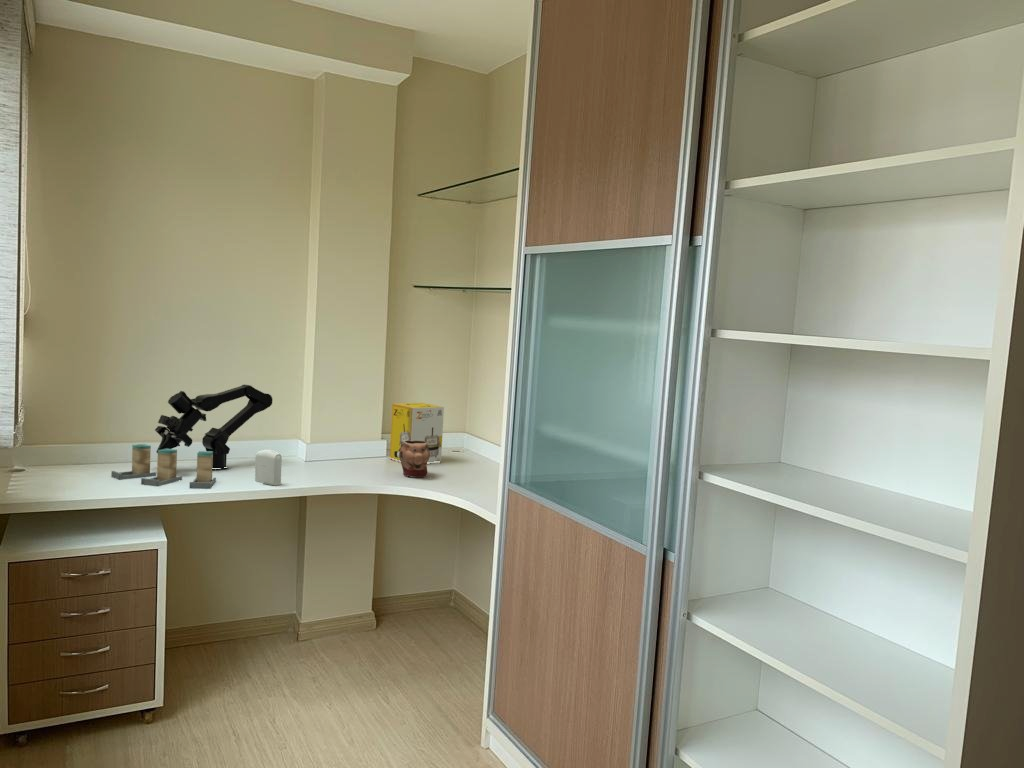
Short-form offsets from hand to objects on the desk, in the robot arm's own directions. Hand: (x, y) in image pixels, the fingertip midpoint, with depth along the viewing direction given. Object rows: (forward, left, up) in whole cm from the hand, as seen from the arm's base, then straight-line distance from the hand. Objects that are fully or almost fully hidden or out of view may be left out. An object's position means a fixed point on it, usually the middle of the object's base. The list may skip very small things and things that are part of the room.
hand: (157, 453), depth 301 cm
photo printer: (-21, +37, -8) cm, 43 cm away
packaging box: (-99, +40, -8) cm, 107 cm away
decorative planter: (-75, +60, -8) cm, 96 cm away
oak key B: (+4, +13, -8) cm, 16 cm away
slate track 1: (+8, -1, -8) cm, 12 cm away
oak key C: (-3, +24, -8) cm, 26 cm away
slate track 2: (+7, +14, -8) cm, 17 cm away
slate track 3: (-1, +26, -8) cm, 27 cm away
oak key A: (+6, -1, -8) cm, 10 cm away
